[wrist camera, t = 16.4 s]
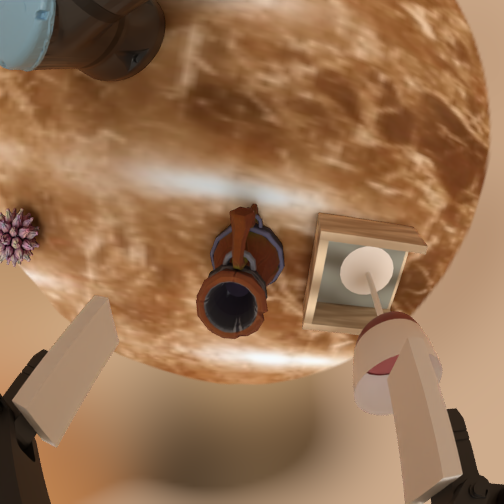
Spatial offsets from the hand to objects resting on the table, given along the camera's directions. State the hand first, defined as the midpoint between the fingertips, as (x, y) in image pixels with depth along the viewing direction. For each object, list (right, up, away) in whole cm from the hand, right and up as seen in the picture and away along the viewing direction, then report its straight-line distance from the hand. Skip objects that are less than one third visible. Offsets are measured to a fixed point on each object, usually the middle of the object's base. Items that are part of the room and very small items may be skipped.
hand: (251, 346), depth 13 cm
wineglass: (+18, +1, +34) cm, 39 cm away
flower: (-46, +10, +42) cm, 63 cm away
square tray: (+17, +2, +35) cm, 39 cm away
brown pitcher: (0, +6, +36) cm, 36 cm away
